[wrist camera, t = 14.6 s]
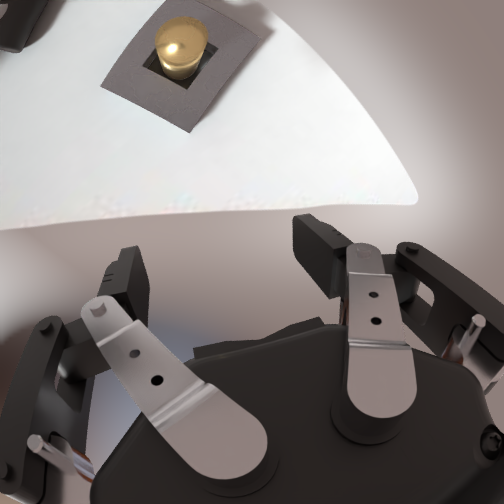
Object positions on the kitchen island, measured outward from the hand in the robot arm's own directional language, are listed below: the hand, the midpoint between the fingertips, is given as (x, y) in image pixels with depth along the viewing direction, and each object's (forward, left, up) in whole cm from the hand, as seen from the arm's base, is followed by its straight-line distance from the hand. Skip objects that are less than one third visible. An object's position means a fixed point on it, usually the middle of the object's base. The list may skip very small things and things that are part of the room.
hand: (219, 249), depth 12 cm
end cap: (-33, +8, -24) cm, 42 cm away
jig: (-8, +10, -24) cm, 27 cm away
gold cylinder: (-8, +10, -24) cm, 27 cm away
